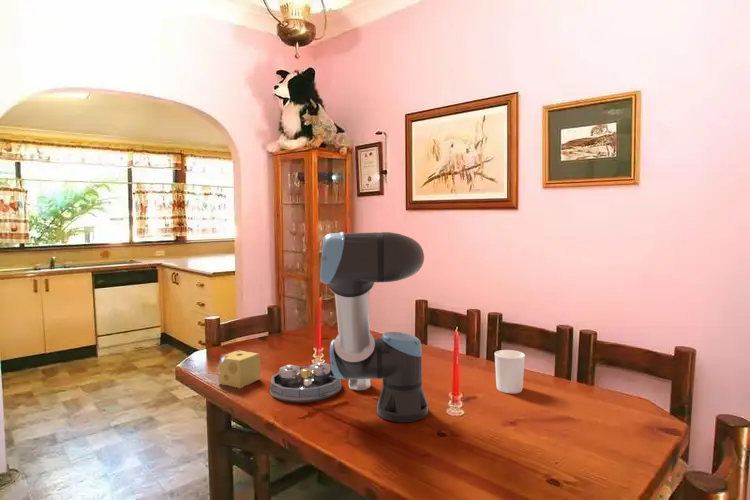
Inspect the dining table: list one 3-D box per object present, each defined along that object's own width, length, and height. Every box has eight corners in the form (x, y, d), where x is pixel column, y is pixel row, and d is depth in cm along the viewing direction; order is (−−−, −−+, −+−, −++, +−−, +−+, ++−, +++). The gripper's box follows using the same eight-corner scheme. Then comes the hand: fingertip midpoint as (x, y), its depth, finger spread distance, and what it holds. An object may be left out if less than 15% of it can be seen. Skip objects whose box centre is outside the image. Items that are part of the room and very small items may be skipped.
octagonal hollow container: (371, 389, 158) (371, 371, 158) (351, 391, 156) (351, 373, 156) (367, 382, 165) (366, 365, 164) (347, 383, 163) (347, 367, 163)
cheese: (218, 384, 164) (217, 356, 164) (240, 375, 174) (239, 348, 173) (240, 389, 159) (239, 360, 159) (261, 379, 169) (261, 352, 168)
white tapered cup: (526, 395, 151) (526, 359, 150) (495, 393, 153) (495, 357, 152) (522, 384, 160) (523, 350, 160) (493, 383, 162) (493, 349, 162)
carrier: (347, 398, 151) (346, 375, 150) (270, 406, 145) (270, 382, 144) (335, 373, 174) (334, 354, 173) (269, 380, 168) (268, 359, 167)
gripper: (377, 289, 147) (378, 355, 149) (361, 278, 171) (361, 335, 173) (354, 290, 145) (355, 357, 147) (340, 279, 169) (341, 337, 171)
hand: (358, 345), depth 160 cm, fingers open, 13 cm apart
